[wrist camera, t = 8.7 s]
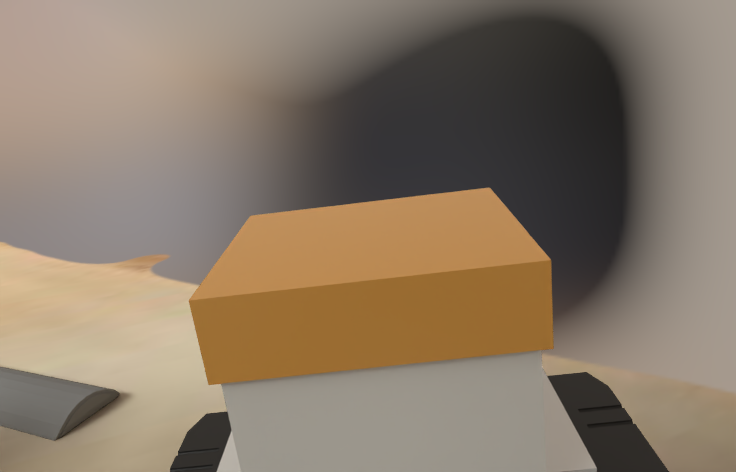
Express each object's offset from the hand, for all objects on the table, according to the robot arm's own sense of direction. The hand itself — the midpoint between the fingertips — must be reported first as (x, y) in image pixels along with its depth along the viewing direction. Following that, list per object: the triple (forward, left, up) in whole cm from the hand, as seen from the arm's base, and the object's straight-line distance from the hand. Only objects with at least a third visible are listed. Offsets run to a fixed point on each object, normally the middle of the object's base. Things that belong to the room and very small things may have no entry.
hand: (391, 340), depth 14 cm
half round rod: (-29, +7, -10) cm, 31 cm away
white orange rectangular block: (+2, -5, -7) cm, 9 cm away
